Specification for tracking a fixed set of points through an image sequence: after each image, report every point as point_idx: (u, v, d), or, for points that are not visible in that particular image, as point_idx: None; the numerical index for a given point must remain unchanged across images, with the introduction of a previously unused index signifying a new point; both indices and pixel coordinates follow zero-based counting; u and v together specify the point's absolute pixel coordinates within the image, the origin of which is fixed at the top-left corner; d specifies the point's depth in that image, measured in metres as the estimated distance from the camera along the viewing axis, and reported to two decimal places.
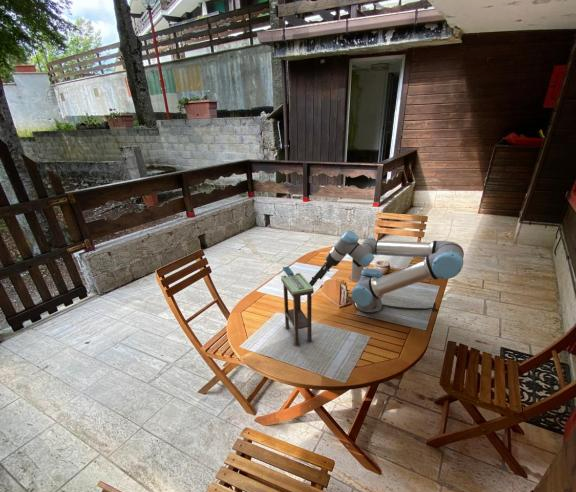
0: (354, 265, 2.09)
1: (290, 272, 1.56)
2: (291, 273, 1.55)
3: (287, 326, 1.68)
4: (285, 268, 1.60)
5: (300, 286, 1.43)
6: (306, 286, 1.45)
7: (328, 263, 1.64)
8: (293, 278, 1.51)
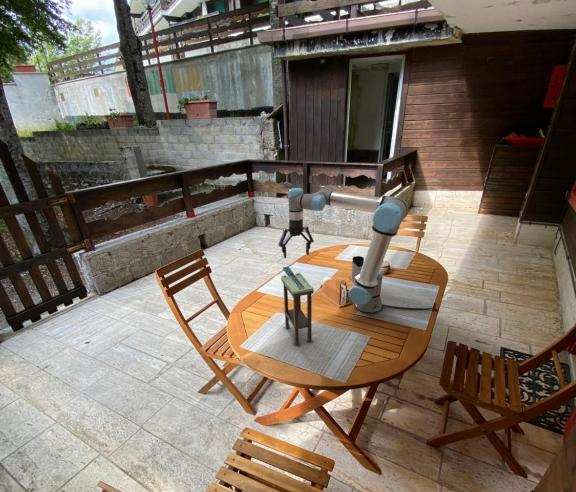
0: (354, 265, 2.09)
1: (290, 272, 1.56)
2: (291, 273, 1.55)
3: (287, 326, 1.68)
4: (285, 268, 1.60)
5: (300, 286, 1.43)
6: (306, 286, 1.45)
7: (289, 226, 1.69)
8: (293, 278, 1.51)
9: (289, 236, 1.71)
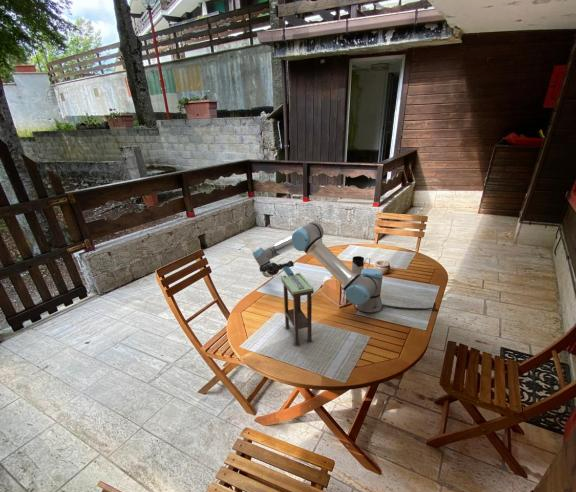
0: (354, 265, 2.09)
1: (290, 272, 1.56)
2: (291, 273, 1.55)
3: (287, 326, 1.68)
4: (285, 268, 1.60)
5: (300, 286, 1.43)
6: (306, 286, 1.45)
7: None
8: (293, 278, 1.51)
9: None
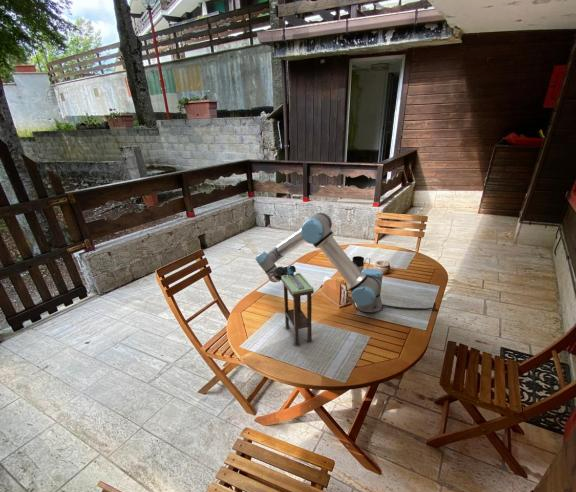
0: None
1: (290, 272, 1.56)
2: (291, 273, 1.55)
3: (287, 326, 1.68)
4: None
5: (300, 286, 1.43)
6: (306, 286, 1.45)
7: None
8: (293, 278, 1.51)
9: None
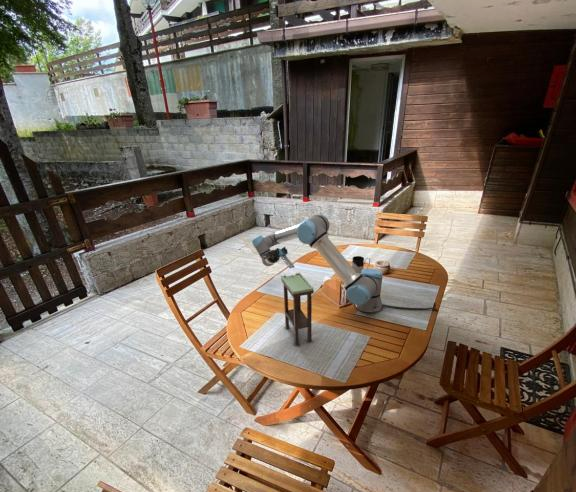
0: (354, 265, 2.09)
1: (281, 253, 1.64)
2: (283, 254, 1.63)
3: (287, 326, 1.68)
4: None
5: (291, 265, 1.52)
6: (306, 286, 1.45)
7: None
8: (284, 258, 1.59)
9: None
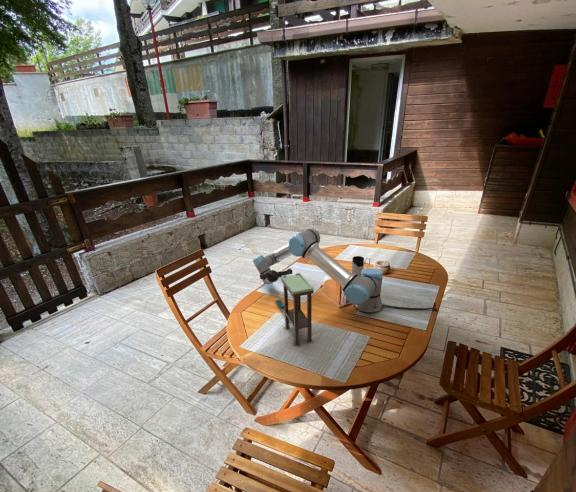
0: (354, 265, 2.09)
1: (281, 305, 1.87)
2: (283, 306, 1.86)
3: (287, 326, 1.68)
4: (278, 301, 1.91)
5: None
6: (306, 286, 1.45)
7: (267, 277, 1.93)
8: (284, 311, 1.81)
9: None
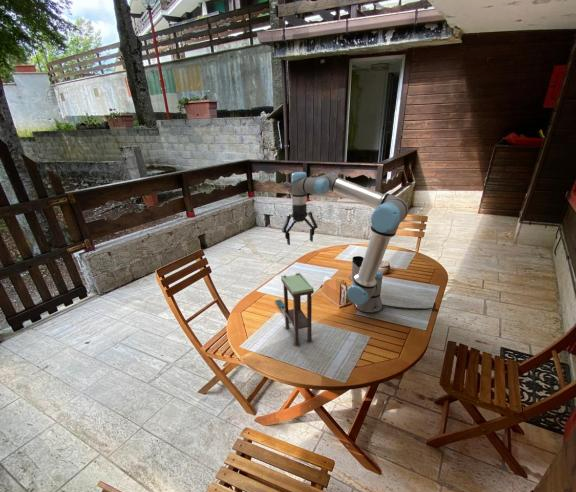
0: (354, 265, 2.09)
1: (281, 305, 1.87)
2: (283, 306, 1.86)
3: (287, 326, 1.68)
4: (278, 301, 1.91)
5: None
6: (306, 286, 1.45)
7: None
8: (284, 311, 1.81)
9: (293, 222, 1.68)
